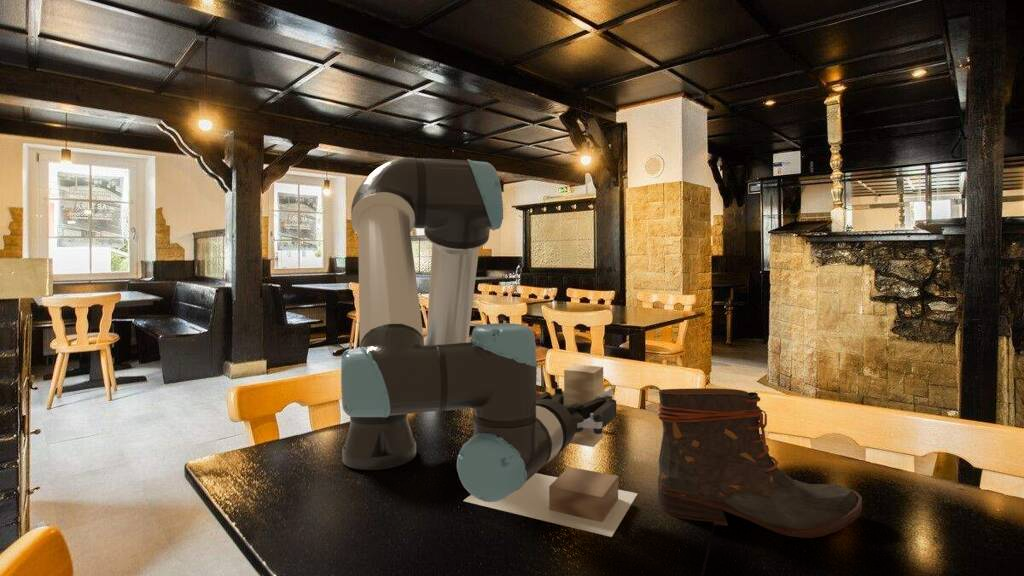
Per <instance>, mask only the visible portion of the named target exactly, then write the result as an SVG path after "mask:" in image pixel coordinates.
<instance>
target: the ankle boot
mask: <svg viewBox="0 0 1024 576" xmlns="http://www.w3.org/2000/svg"><path fill="white" fill-rule="evenodd" d="M658 396H659V404H658V411H659V413H658V414H657V416H658V419H659V420H660V421H662V431H663V432H662V437H661V438H662V439H661V443H660V451H659V457H658V470H659V471H658V473H659V474H658V477H657V506H658V509H659V510H660V511H661V512H662V513H664V514H666V515H668V516H671V517H674V518H678V519H685V520H691V521H698V522H699V521H700V522H701V521H703V522H710V523H713V524H712V525H714V526H715V525H716V526H725V527H728V521H727V517H726V514H725V512H726V513H728V514H732V515H734V516H737V517H739V518H742V519H744V520H747V521H748V522H751V523H753V524H756V525H758V526H759V527H762V528H764V529H766V530H769V531H772V532H774V533H776V534H780V535H783V536H788V537H794V538H804V539H813V538H814V539H815V538H820V537H825V536H828V535H831V534H834V533H836V532H838V531H841V530H842V529H844V528H846V526H848V525H849V524H851V523H852V522H853V521H855V520H856V519H858V518H860V515H861V513H862V510H863V502H862V501H863V498H862V496H861V494H859V493H858V491H856V490H853V489H850V488H848V487H846V486H842V485H840V484H834V483H830V484H829V483H827V484H825V483H818V484H817V483H807V482H804V481H803V482H802V481H799V480H796V479H793V478H792V477H790V476H789V475H788V474H786V473H785V472H783V471H782V470H780V469H779V468H778V465H779V461H778V460H777V459H776V458H775V457H774V456H771V455H770V453H769V452H770V448H769V445H767V441H766V432H765V431H766V430H765V428H767V426H768V415H767V413H766V412H767V411H764V410H763V409H761V407H760V406H758V402H761V397H760V396H759V393H758V392H755V391H751V392H748V391H746V390H742V389H734V388H717V387H716V388H715V387H710V388H708V387H707V388H706V387H704V388H702V387H700V388H697V387H696V388H665V389H664V388H663V389H660V390H659V389H658ZM760 431H761V433H760Z"/></svg>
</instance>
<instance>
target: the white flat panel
mask: <svg viewBox="0 0 1024 576" xmlns="http://www.w3.org/2000/svg"><path fill="white" fill-rule="evenodd" d="M557 478H558V477H557V476H551V475H546V474H541V473H538V472H536V473H535V474H534V475H533V476H532V477H531V478H530V479H529V480H527V481H526V482H525V484H524V485H523V487H522V488H521V489H519V490H517V491H515V492H513V493H512V494H510V495H509V496H507V497H506V498H504V499H502V500H500V501H496V502H485V501H483V500H480V499H478V498H476V497H474V496H473V495H471V494H470V495H469V496H467V497H466V498H465V499H464V500H462V501H463V502H465V503H470V504H473V505H476V506H477V505H478V506H482V507H487V508H490V509H493V510H497V511H503V512H507V513H510V514H514V515H519V516H523V517H528V518H531V519H536V520H540V521H543V522H547V523H552V524H556V525H560V526H564V527H569V528H572V529H578V530H580V531H584V532H588V533H589V532H590V533H594V534H596V535H597V534H599V535H602V536H605V537H610V538H612V537H613V535H614V534H615V533H616V531H617V529H618V527H619V525H620V524H621V522H622V520H623V519H624V517H625V516H626V514H627V512H628V511H629V509H630V507H631V506H632V504H633V503H634V501H635V500H636V497H637V495H638V494H639V493H637V492H632V491H627V490H622V489H618V500H617V501H616V503H615V504H614V506H613V507H612V509H611V510H610V512H609V513H608V515H607V516H606V518H605V519H604V521H603V522H599V521H594V520H590V519H586V518H581V517H577V516H573V515H568V514H564V513H560V512H555V511H551V510H549V486H550V485H551V484H552V483H553V482H554V481H555V480H556V479H557Z"/></svg>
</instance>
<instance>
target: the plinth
mask: <svg viewBox="0 0 1024 576" xmlns="http://www.w3.org/2000/svg"><path fill="white" fill-rule="evenodd" d="M618 490H619V475H615V474H610V473H605V472H604V473H603V472H599V471H594V470H589V469H582V468H577V467H572V466H567V468H566V469H565V470H564V471H562V473H561V474H560V475H559V476H558V477H557V479H556V480H555V481H554V482H553V483H552V484H551V485H550V486H549V510H551V511H555V512H560V513H564V514H568V515H573V516H577V517H581V518H586V519H590V520H594V521H599V522H603V521H604V519H605V518H606V516H607V515H608V513H609V512H610V510H611V509H612V507H613V506H614V504H615V503H616V501H617V500H618Z"/></svg>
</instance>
